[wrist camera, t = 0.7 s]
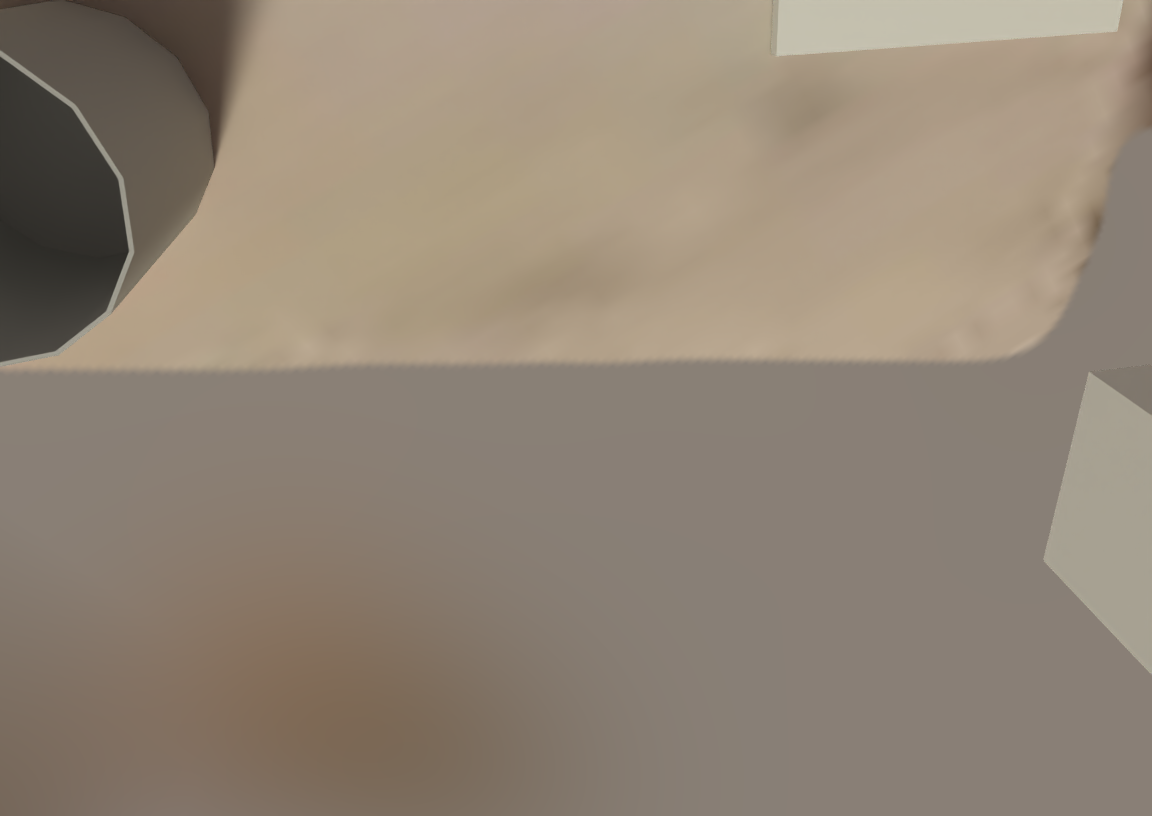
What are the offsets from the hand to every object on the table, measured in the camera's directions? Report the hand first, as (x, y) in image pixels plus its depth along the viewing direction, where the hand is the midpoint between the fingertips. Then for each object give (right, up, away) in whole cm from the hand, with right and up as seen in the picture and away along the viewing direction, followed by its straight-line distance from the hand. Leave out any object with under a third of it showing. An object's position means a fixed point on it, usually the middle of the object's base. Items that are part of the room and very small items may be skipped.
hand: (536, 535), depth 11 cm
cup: (-16, +11, +21) cm, 29 cm away
